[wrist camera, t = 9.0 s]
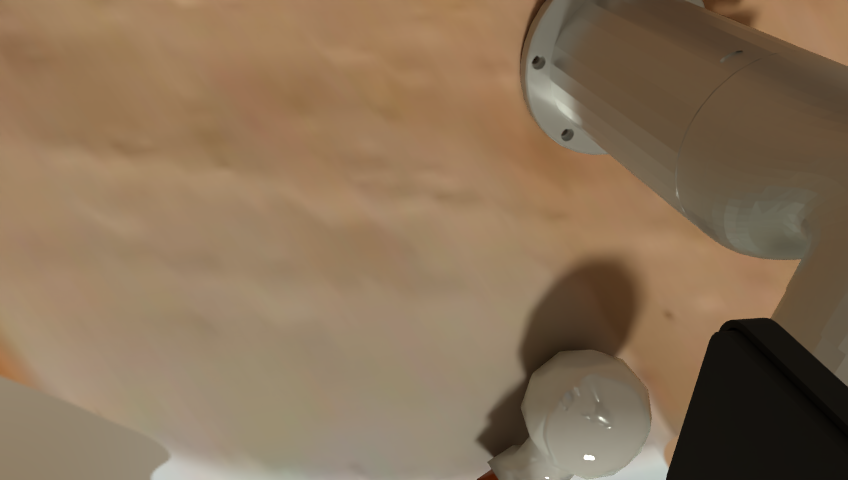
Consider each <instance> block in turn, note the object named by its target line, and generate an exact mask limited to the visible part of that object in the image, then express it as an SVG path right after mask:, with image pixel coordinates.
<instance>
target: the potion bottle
mask: <svg viewBox="0 0 848 480" xmlns="http://www.w3.org/2000/svg"><path fill="white" fill-rule="evenodd" d="M521 410H522V413H523V417H524V420H525V423H526V426H527V430H528V433H529V438H528V439H527V440H526V441H525V442H524V444H523V445H513V446H511V447H510V448H508V449H506V450H505V451H503V452H502V453H500V454H499V455H497V456H496V457H494V458H493V459H491V460H490V461H488V464H489V465H490V467H491V470H490V471H488V472H487V473H485V474H484V475H483V476H481V477H480V478H478V479H477V480H570V479H571V478H572V477H573V475H576V476H579V477H582V478H584V479H593V478H599V477H606V476H612V475H614V474H616V473H617V472H618V471H620V470H621V469H623V468H624V467H625V466H627V465H628V464H629V463H630V462H631V461H632V460H633V459H634V458H635V457H636V456H637V455H638V454H640V453H641V451H642V448H643V446H644V444H645V441H646V439H647V437H648V434H649V432H650V428H651V420H652V416H651V408H650V400H649V393H648V389H647V387H646V386H645V385H644V384H643V383H642V382H641V380H640V379H639V378H638V377H637V376H636V374H635V373H634V372H633V371H632V370H631V369H630V367H629V366H628V365H627V364H626V363H625V361H624V360H623V359H620V358H617V357H614V356H611V355H608V354H605V353H602V352H599V351H595V350H577V351H560V352H558V353H557V354H556V355H555V356H553V357H552V358H551V359H550V360H548V361H547V362H546V363H545V364H543V365H542V366H541V367H540V368H539V369H537V370H536V371H535V372H534V373H532V376H531V379H530V382H529V384H528V387H527V390H526V393H525V396H524V399H523V402H522V405H521Z"/></svg>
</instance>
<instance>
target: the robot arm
mask: <svg viewBox="0 0 848 480" xmlns="http://www.w3.org/2000/svg"><path fill="white" fill-rule="evenodd" d="M536 56H537V58H536V60H535V61H534V62H532V61H533V59H534V58H535V57H536ZM521 86H522V91H523V97H524V100H525V103H526V105H527V107H528V110H529V112H530V115H531V116H532V117H533V119H534V120H535V122H536V123H537V124H538V126H539V127H540V128H541V129H542V130H543V131H544V132H545V133H546V134H547V135H548V136H549V137H550V138H551V139H553V140H554V141H555V142H557V143H558V144H559V145H561V146H563V147H565V148H568V149H570V150H573V151H575V152H579V153H585V154H591V155H601V154H609V155H611V156H612V157H613V158H614V159H615V160H617V161H618V162H619V163H620V164H621V165H623V166H624V167H625V168H626V169H627V170H629V171H630V172H631V173H632V174H633V175H635V176H636V177H637V178H638V179H640V180H641V181H642V182H643V183H644V184H646V185H647V186H648V187H649V188H650V189H652V190H653V191H654V192H655V193H656V194H658V195H659V196H660V197H661V198H662V199H664V200H665V201H666V202H667V203H668V204H670V205H671V206H672V207H673V208H674V209H676V210H677V211H678V212H679V213H681V214H682V215H683V216H684V217H685V218H687V219H688V220H689V221H690V222H692V223H693V224H694V225H696V226H697V227H698V228H699V229H700V230H702V231H703V232H704V233H705V234H707V235H708V236H709V237H710V238H712V239H713V240H714V241H716V242H718V243H719V244H721V245H722V246H724V247H726V248H728V249H730V250H733V251H735V252H737V253H740V254H743V255H748V256H752V257H757V258H762V259H773V260H797V259H801V261H800V263H799V265H798V267H797V269H796V271H795V273H794V275H793V276H792V278H791V280H790V282H789V283H788V285H787V288H786V292H785V294H784V295H783V297H782V299H781V301H780V302H779V304H778V306H777V308H776V309H775V311H774V313H773V315H772V316H771V318H770V319H769V318H754V319H738V320H730V321H727V322H725V323H724V324H723V325H722V326H721V328H720V330H719V332H716V333H714V334H713V335H712V337H711V339H710V341H709V344H708V347H707V350H706V354H705V357H704V360H703V363H702V366H701V369H700V372H699V376H698V379H697V382H696V385H695V388H694V391H693V394H692V398H691V401H690V404H689V407H688V410H687V413H686V417H685V420H684V423H683V426H682V429H681V432H680V435H679V439H678V442H677V445H676V448H675V451H674V454H673V458H672V461H671V464H670V467H669V470H668V473H667V478H666V480H848V66H846V65H843V64H841V63H838V62H836V61H833V60H831V59H828V58H826V57H823V56H821V55H818V54H815V53H813V52H810V51H808V50H805V49H803V48H800V47H798V46H796V45H793V44H791V43H788V42H786V41H783V40H781V39H778V38H776V37H774V36H771V35H769V34H766V33H764V32H761V31H759V30H756V29H754V28H751V27H749V26H747V25H744V24H742V23H739V22H737V21H734V20H732V19H729V18H727V17H725V16H722V15H720V14H717V13H715V12H712V11H710V10H707V9H705V6H704V2H703V0H546V1H545V2H544V3H543V5H542V6H541V8H540V9H539V11H538V13H537V15H536V16H535V18H534V20H533V22H532V24H531V26H530V29H529V31H528V34H527V37H526V40H525V43H524V47H523V52H522V58H521ZM563 131H564V132H563ZM562 132H563V133H562Z"/></svg>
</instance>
